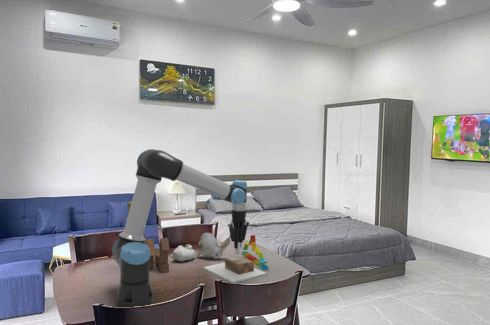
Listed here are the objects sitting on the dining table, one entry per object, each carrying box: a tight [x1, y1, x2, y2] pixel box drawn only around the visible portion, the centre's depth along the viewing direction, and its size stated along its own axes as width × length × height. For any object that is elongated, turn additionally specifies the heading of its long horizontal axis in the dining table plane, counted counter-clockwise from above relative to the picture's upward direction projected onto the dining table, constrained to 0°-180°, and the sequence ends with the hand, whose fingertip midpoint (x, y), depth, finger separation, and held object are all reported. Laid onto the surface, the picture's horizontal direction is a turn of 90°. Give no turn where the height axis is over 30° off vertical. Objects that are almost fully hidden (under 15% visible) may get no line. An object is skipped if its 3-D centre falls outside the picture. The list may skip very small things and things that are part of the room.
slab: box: [224, 255, 255, 275], centre depth 194 cm, size 5×12×10 cm
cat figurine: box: [170, 244, 196, 263], centre depth 209 cm, size 10×8×15 cm
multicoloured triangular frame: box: [241, 234, 269, 271], centre depth 212 cm, size 30×3×15 cm, turn 24°
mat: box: [202, 262, 267, 284], centre depth 194 cm, size 22×26×1 cm
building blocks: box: [127, 200, 171, 273], centre depth 191 cm, size 19×25×35 cm
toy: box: [196, 232, 231, 260], centre depth 214 cm, size 8×15×20 cm
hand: (237, 254), depth 193 cm, fingers closed
